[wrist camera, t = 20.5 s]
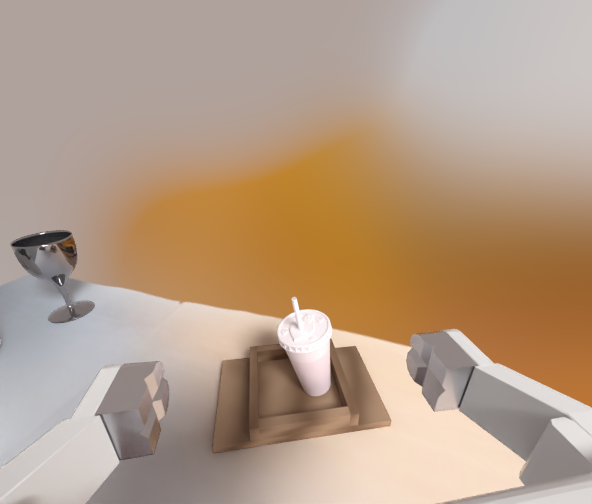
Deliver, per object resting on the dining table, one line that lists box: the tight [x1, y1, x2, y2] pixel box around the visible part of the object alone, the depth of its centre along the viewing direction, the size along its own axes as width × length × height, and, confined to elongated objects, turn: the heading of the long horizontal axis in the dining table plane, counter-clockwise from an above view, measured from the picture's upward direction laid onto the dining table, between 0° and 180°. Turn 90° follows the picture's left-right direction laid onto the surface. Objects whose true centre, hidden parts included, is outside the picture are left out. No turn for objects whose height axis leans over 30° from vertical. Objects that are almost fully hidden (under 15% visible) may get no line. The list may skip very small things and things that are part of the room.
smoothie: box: [277, 297, 332, 396], centre depth 33 cm, size 6×6×14 cm
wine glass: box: [11, 230, 95, 323], centre depth 50 cm, size 8×8×15 cm
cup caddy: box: [212, 339, 391, 453], centre depth 36 cm, size 20×12×3 cm, turn 98°
